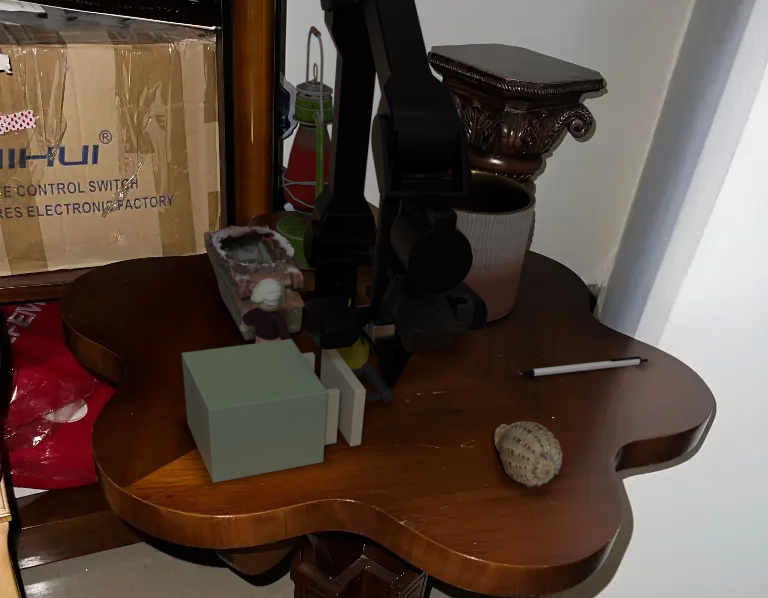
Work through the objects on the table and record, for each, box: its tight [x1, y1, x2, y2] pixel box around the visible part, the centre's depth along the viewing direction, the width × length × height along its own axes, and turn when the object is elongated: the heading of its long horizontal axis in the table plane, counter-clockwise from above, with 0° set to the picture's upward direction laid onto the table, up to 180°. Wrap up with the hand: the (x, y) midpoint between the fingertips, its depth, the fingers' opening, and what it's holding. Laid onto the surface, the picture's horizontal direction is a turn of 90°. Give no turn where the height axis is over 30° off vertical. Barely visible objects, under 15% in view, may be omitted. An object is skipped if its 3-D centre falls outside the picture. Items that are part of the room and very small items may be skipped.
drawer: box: [301, 349, 395, 447], centre depth 81 cm, size 15×9×7 cm, turn 114°
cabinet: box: [181, 338, 327, 484], centre depth 79 cm, size 12×11×9 cm
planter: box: [421, 168, 537, 324], centre depth 106 cm, size 18×18×16 cm
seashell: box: [494, 421, 563, 488], centre depth 82 cm, size 8×6×10 cm
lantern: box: [276, 25, 334, 271], centre depth 109 cm, size 14×11×30 cm
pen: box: [520, 355, 649, 377], centre depth 99 cm, size 1×19×1 cm, turn 110°
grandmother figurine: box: [239, 278, 292, 344], centre depth 86 cm, size 8×4×13 cm, turn 65°
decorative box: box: [203, 224, 305, 341], centre depth 100 cm, size 13×20×10 cm, turn 17°
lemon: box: [336, 299, 373, 369], centre depth 90 cm, size 7×6×10 cm
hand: (388, 385), depth 84 cm, fingers closed
